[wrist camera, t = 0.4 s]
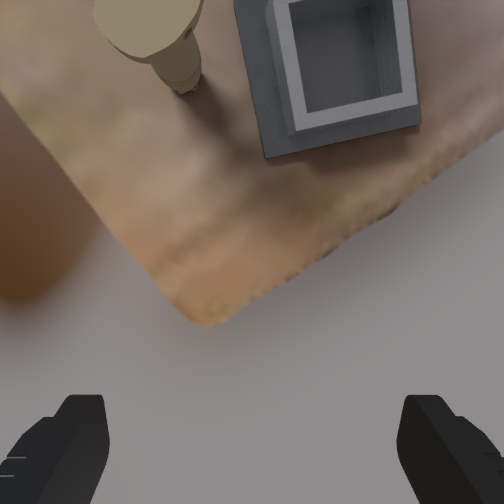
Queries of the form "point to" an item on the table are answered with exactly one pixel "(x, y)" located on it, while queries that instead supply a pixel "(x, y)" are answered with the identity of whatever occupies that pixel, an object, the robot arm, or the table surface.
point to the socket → (328, 70)
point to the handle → (155, 36)
